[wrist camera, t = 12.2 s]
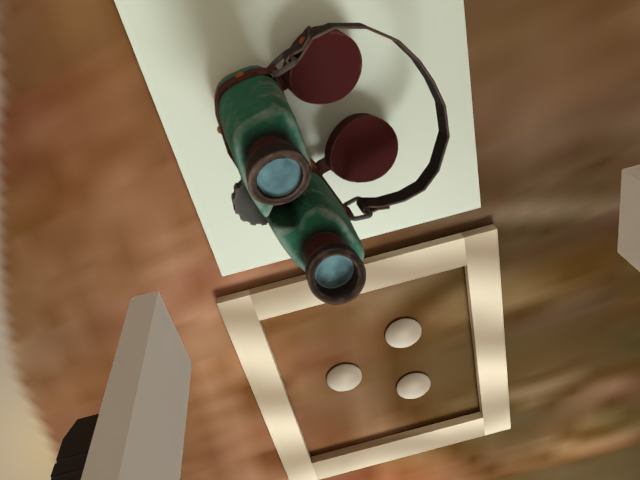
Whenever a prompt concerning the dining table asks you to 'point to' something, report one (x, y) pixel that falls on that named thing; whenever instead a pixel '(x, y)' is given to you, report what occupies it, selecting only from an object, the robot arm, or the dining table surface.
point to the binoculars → (299, 169)
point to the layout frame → (381, 271)
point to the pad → (313, 119)
